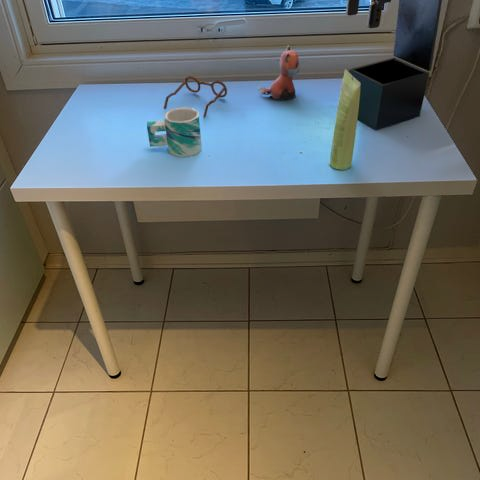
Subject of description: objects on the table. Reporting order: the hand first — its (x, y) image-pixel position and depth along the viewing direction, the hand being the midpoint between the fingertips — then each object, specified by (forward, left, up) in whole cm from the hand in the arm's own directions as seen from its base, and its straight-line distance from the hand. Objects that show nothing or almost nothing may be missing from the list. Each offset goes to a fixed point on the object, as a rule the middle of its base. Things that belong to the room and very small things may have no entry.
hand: (361, 20), depth 98 cm
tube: (-1, +1, -29) cm, 29 cm away
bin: (+19, -20, -29) cm, 40 cm away
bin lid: (+20, -26, -10) cm, 35 cm away
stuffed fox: (+40, 0, -29) cm, 49 cm away
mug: (+20, +34, -29) cm, 49 cm away
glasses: (+43, +23, -29) cm, 57 cm away
